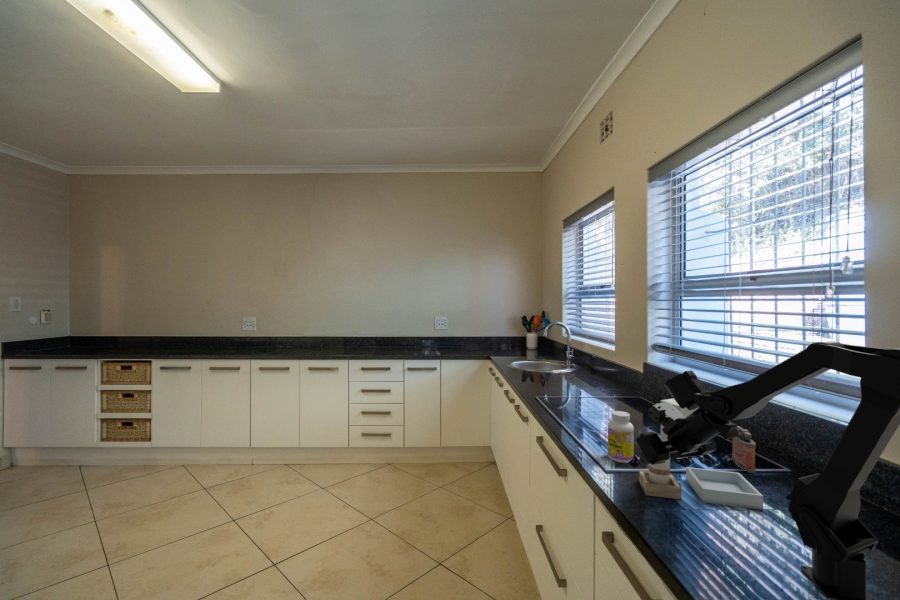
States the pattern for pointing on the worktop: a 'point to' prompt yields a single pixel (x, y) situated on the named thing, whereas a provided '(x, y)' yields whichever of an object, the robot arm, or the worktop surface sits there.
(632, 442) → the supplement bottle
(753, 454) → the lighter
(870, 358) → the robot arm
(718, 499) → the tray
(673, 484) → the holder
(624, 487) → the worktop surface
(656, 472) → the white domed canister
